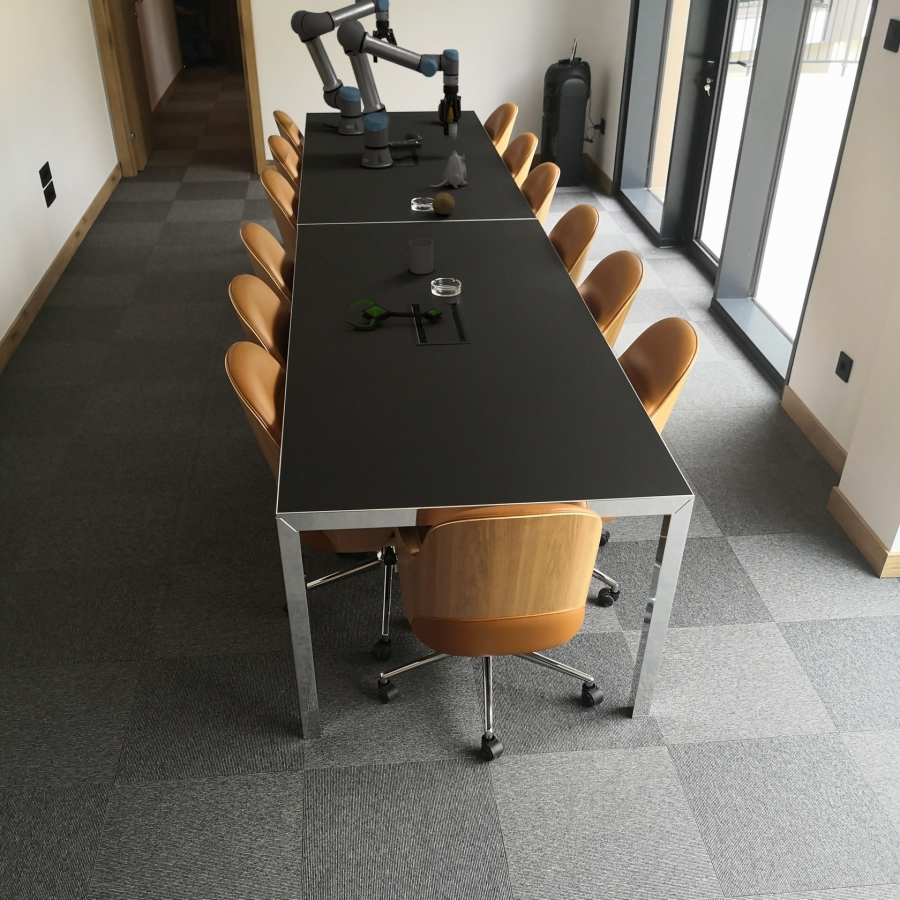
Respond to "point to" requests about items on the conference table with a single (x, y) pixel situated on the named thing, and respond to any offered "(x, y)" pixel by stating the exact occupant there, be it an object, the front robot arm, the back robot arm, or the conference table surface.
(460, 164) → the toy
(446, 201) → the potato
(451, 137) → the camera lens
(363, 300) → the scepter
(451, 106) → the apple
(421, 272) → the cup
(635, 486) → the conference table surface
